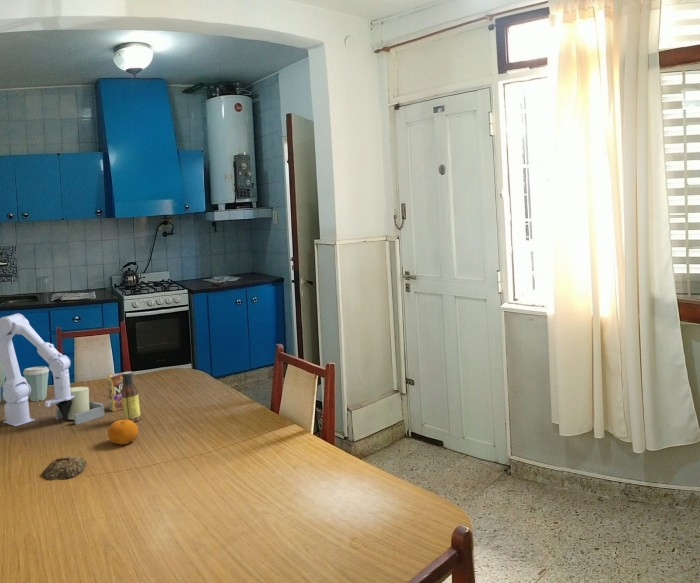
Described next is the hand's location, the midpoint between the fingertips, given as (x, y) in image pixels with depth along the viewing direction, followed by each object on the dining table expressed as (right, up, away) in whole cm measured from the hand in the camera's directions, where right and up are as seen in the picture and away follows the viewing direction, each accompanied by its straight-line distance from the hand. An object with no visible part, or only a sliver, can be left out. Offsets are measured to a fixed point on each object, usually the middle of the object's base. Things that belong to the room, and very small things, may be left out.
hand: (65, 419), depth 251 cm
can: (+3, 0, +6) cm, 6 cm away
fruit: (+33, -4, -25) cm, 41 cm away
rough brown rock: (+22, -7, -49) cm, 55 cm away
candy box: (+17, +1, +16) cm, 23 cm away
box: (+4, 0, +6) cm, 7 cm away
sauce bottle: (+27, -1, -1) cm, 27 cm away
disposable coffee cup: (-28, +2, +34) cm, 44 cm away
